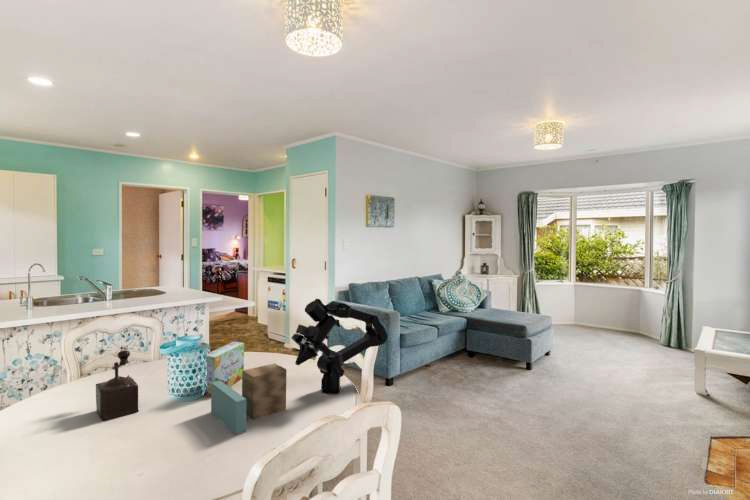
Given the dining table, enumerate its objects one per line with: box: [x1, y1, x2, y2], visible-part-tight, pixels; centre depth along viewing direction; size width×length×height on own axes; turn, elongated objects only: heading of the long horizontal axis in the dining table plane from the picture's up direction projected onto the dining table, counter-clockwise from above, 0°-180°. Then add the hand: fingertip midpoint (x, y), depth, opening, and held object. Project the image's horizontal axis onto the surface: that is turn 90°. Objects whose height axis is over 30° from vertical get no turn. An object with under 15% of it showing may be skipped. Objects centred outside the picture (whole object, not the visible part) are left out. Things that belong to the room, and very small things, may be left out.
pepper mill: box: [95, 349, 140, 422], centre depth 137 cm, size 16×11×18 cm
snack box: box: [203, 341, 245, 398], centre depth 158 cm, size 21×6×15 cm, turn 168°
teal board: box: [210, 381, 247, 436], centre depth 129 cm, size 3×20×10 cm, turn 42°
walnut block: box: [241, 363, 287, 421], centre depth 138 cm, size 12×8×14 cm, turn 132°
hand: (296, 364), depth 146 cm, fingers closed
